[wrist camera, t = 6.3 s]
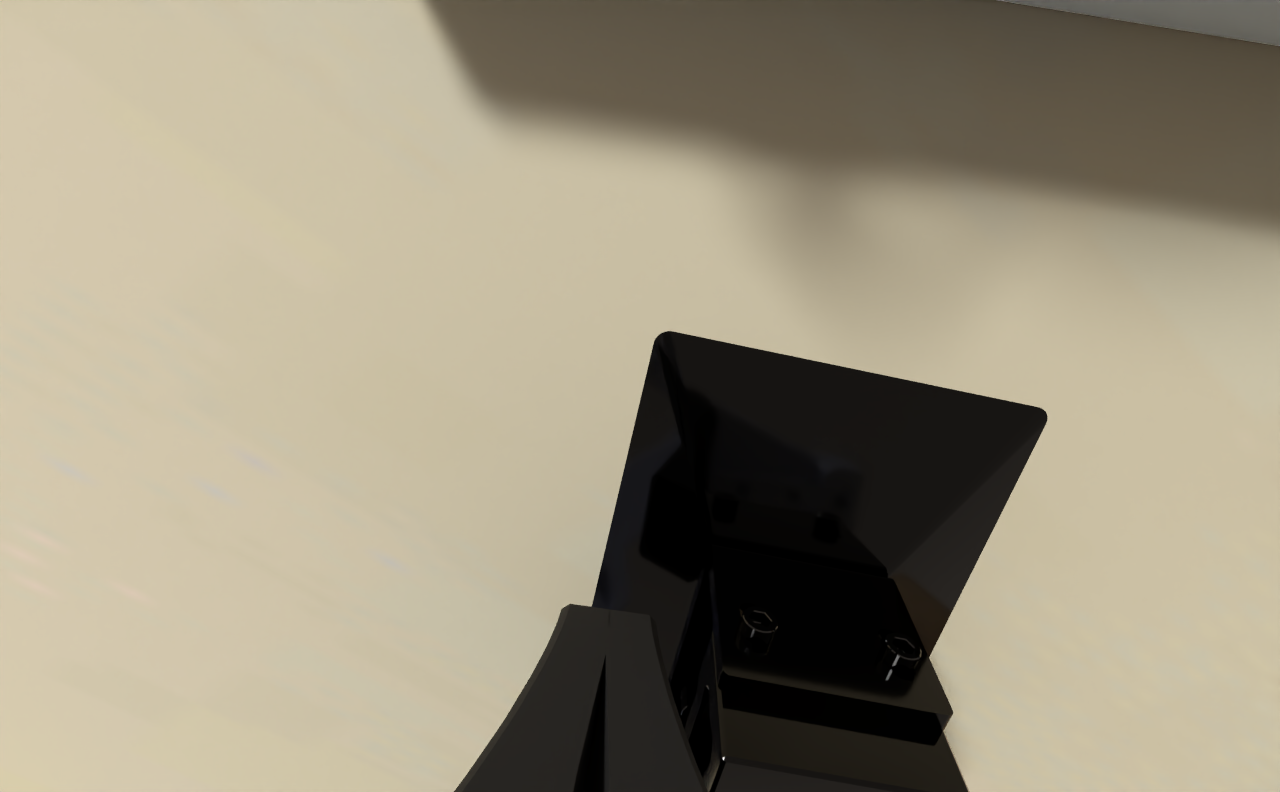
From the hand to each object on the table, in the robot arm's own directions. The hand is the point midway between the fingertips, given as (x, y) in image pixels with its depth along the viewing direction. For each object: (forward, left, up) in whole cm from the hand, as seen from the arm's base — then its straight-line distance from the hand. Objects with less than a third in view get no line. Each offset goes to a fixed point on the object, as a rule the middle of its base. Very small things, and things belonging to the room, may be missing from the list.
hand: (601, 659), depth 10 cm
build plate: (-1, -3, -3) cm, 4 cm away
